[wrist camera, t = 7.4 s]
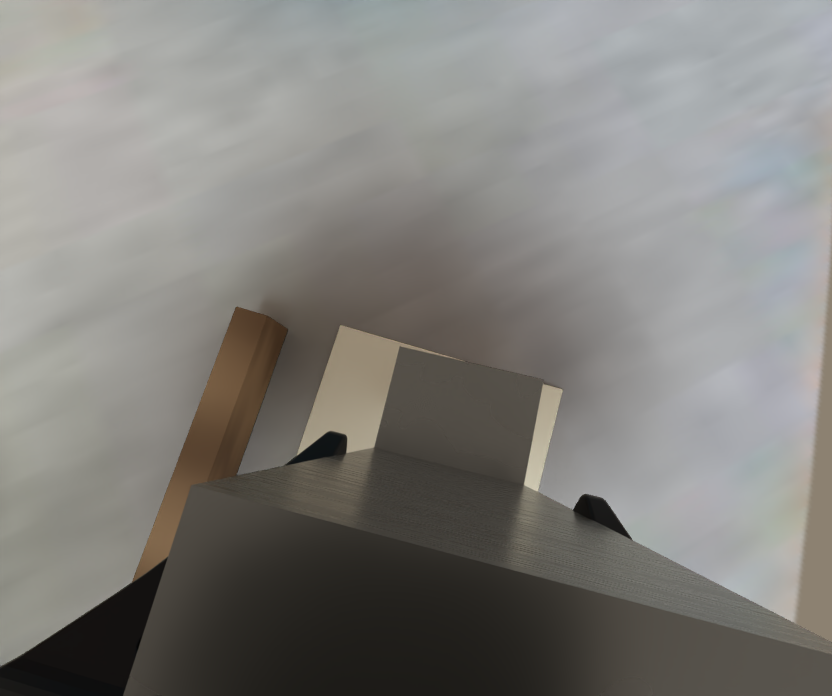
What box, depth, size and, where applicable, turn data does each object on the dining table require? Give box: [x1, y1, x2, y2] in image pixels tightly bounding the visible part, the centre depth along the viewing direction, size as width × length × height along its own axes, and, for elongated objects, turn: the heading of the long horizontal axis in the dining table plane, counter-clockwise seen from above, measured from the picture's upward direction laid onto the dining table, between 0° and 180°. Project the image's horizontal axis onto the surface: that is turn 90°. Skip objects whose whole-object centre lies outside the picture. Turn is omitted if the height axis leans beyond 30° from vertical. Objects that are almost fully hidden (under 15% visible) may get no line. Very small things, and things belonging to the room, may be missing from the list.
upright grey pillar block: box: [123, 346, 832, 696], centre depth 10 cm, size 5×6×13 cm
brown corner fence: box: [132, 307, 288, 582], centre depth 21 cm, size 14×18×3 cm
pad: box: [296, 325, 563, 492], centre depth 22 cm, size 12×12×1 cm
